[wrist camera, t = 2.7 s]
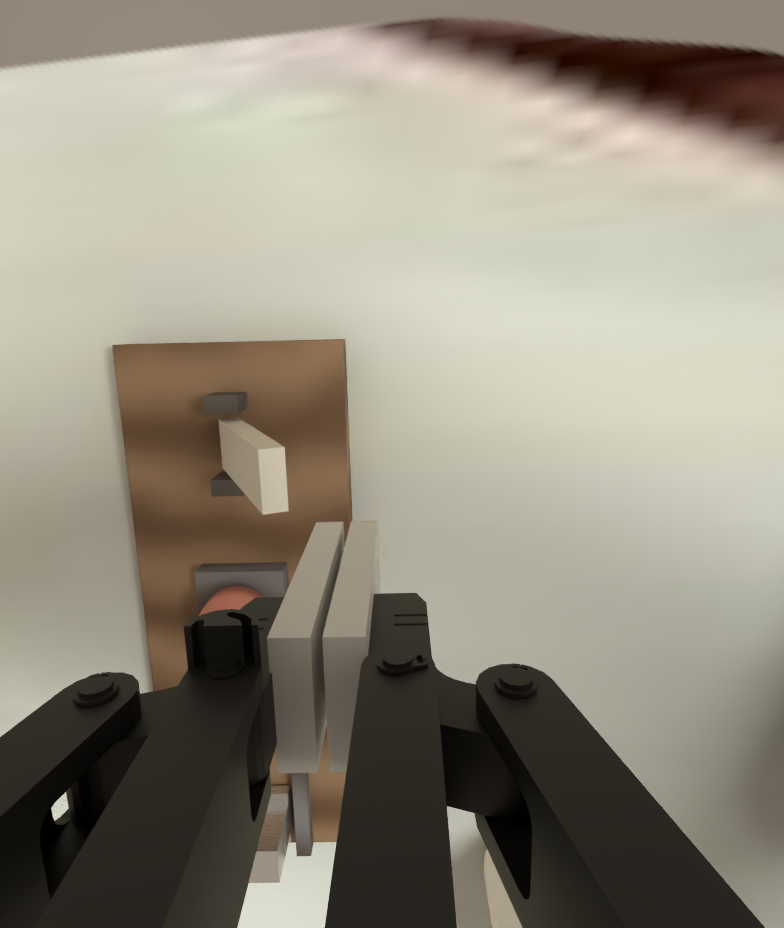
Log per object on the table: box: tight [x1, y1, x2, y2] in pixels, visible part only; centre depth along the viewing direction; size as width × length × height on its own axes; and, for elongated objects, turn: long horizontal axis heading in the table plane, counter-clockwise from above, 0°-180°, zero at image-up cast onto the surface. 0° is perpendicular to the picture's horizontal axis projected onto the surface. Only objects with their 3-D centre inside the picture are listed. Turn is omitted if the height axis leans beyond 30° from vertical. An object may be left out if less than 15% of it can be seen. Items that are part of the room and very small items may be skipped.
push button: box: [199, 586, 263, 616], centre depth 38 cm, size 4×4×2 cm
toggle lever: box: [218, 418, 289, 515], centre depth 32 cm, size 3×1×11 cm, turn 1°
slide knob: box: [249, 785, 293, 883], centre depth 41 cm, size 4×4×5 cm
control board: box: [113, 339, 352, 856], centre depth 41 cm, size 36×14×4 cm, turn 1°
